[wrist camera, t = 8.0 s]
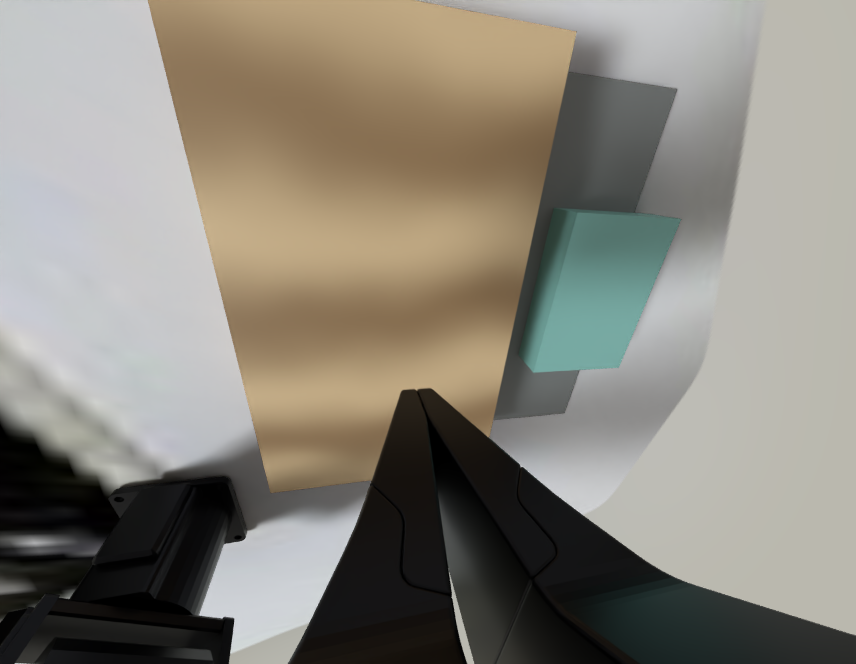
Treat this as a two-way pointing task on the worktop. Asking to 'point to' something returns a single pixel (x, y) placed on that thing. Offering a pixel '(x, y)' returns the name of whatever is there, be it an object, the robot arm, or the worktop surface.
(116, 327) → the worktop surface
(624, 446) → the worktop surface
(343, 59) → the board
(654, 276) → the teal rectangular block
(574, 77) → the mat
